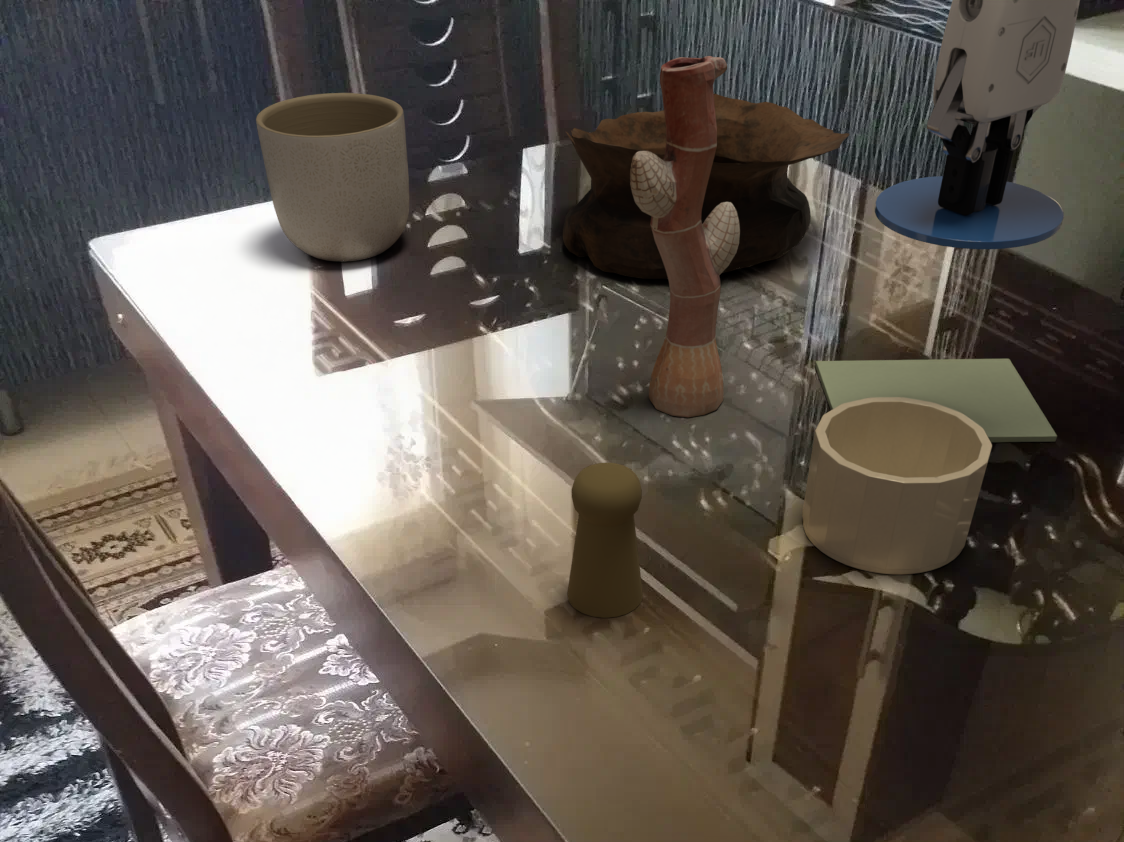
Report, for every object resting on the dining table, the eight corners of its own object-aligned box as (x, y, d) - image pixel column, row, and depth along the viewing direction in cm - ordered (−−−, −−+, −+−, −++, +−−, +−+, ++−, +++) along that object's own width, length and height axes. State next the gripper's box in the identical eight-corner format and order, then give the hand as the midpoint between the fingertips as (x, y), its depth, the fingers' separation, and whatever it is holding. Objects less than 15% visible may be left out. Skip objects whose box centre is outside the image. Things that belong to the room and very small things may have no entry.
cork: (629, 624, 89) (633, 501, 81) (556, 608, 90) (553, 486, 82) (652, 580, 93) (658, 459, 85) (581, 566, 94) (581, 445, 86)
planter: (426, 265, 139) (413, 129, 129) (285, 281, 136) (260, 142, 126) (405, 216, 151) (392, 87, 140) (275, 229, 148) (251, 99, 138)
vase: (721, 380, 117) (751, 44, 96) (734, 415, 112) (769, 68, 91) (618, 385, 117) (626, 48, 96) (627, 421, 111) (637, 72, 90)
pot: (943, 484, 102) (966, 395, 97) (984, 573, 93) (1012, 481, 87) (791, 486, 103) (804, 397, 97) (816, 575, 93) (832, 483, 87)
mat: (1007, 363, 119) (1009, 358, 119) (1055, 441, 108) (1057, 436, 107) (814, 366, 119) (815, 360, 119) (842, 444, 108) (843, 438, 107)
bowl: (503, 254, 146) (495, 121, 136) (682, 203, 163) (686, 82, 153) (705, 313, 125) (712, 162, 116) (886, 248, 142) (905, 111, 133)
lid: (1027, 187, 98) (1045, 114, 94) (1086, 254, 88) (1109, 175, 84) (856, 193, 98) (867, 120, 94) (895, 260, 88) (909, 181, 84)
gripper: (996, -49, 74) (937, 244, 87) (1147, -82, 80) (1071, 195, 93) (907, -65, 78) (863, 216, 91) (1057, -95, 85) (996, 171, 98)
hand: (969, 203), depth 92 cm, fingers closed on lid, 2 cm apart
